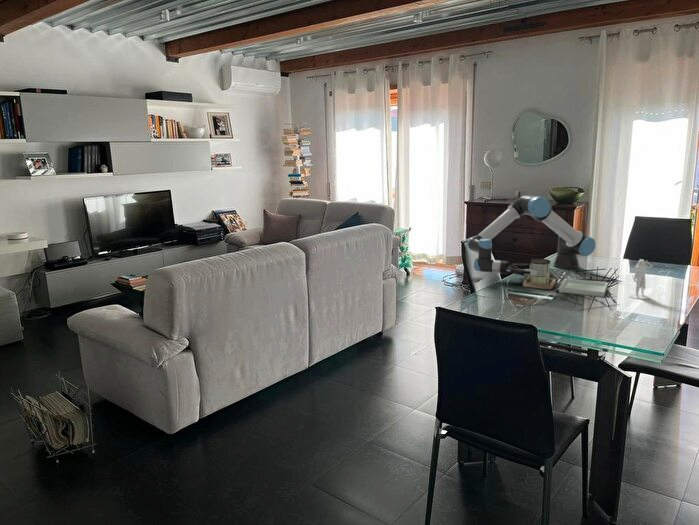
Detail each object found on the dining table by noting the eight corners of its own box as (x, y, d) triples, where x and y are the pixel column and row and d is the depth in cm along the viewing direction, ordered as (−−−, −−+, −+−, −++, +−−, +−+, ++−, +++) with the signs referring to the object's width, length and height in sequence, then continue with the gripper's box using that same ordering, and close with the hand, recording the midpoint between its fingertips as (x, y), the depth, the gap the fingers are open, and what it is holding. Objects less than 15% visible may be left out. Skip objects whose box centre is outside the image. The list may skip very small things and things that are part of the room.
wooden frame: (528, 280, 309) (528, 276, 308) (555, 283, 301) (555, 278, 301) (522, 286, 296) (523, 282, 295) (550, 289, 289) (551, 285, 288)
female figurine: (621, 299, 267) (625, 261, 263) (628, 292, 279) (632, 255, 275) (645, 303, 261) (649, 264, 256) (652, 296, 273) (656, 258, 268)
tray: (564, 282, 302) (565, 278, 302) (607, 286, 292) (607, 282, 291) (558, 291, 284) (559, 287, 283) (603, 296, 273) (604, 292, 272)
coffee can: (527, 282, 304) (529, 258, 301) (546, 282, 303) (547, 258, 300) (532, 287, 294) (533, 262, 291) (551, 287, 293) (552, 262, 290)
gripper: (506, 268, 319) (542, 272, 308) (495, 278, 297) (534, 282, 287) (506, 256, 317) (543, 259, 307) (495, 265, 296) (535, 268, 286)
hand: (539, 270), depth 297 cm, fingers open, 13 cm apart
